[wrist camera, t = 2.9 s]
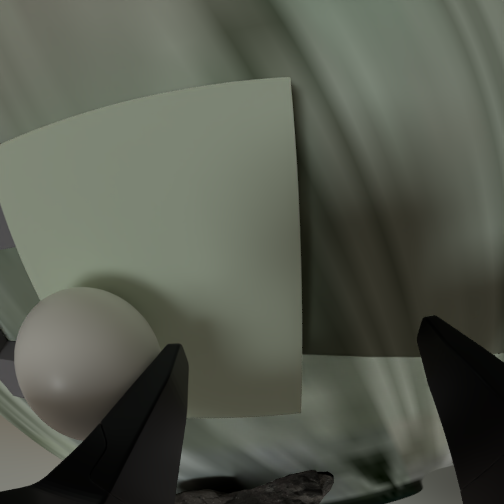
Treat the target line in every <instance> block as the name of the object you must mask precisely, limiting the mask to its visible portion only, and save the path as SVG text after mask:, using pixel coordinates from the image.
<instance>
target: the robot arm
mask: <svg viewBox="0 0 504 504" xmlns="http://www.w3.org/2000/svg"><path fill="white" fill-rule="evenodd" d="M417 343H418V347H419V351H420V354H421V358H422V362H423V366H424V370H425V374H426V378H427V382H428V385H429V388H430V391H431V394H432V396H433V399H434V402H435V405H436V408H437V411H438V414H439V417H440V420H441V423H442V426H443V430H444V433H445V436H446V439H447V443H448V446H449V450H450V453H451V457H452V460H453V464H454V467H455V471H456V475H457V479H458V483H459V487H460V490H461V496H462V501H463V504H504V362H502V361H501V360H500V359H498V358H497V357H495V356H494V355H493V354H491V353H490V352H488V351H487V350H486V349H484V348H483V347H481V346H480V345H478V344H477V343H476V342H474V341H473V340H471V339H470V338H468V337H467V336H465V335H464V334H463V333H461V332H460V331H458V330H457V329H455V328H454V327H452V326H451V325H449V324H448V323H446V322H445V321H443V320H442V319H440V318H439V317H437V316H435V315H433V316H427V317H424V318H423V319H422V322H421V325H420V329H419V332H418V335H417ZM188 378H189V363H188V360H187V357H186V354H185V351H184V349H183V346H182V345H181V344H180V343H173V344H167V345H166V346H165V347H164V348H163V350H162V351H161V352H160V353H159V354H158V355H157V357H156V358H155V359H154V360H153V361H152V362H151V364H150V365H149V366H148V367H147V368H146V369H145V371H144V372H143V373H142V374H141V375H140V376H139V377H138V379H137V380H136V381H135V382H134V383H133V384H132V386H131V387H130V388H129V389H128V390H127V391H126V393H125V394H124V395H123V396H122V397H121V398H120V400H119V401H118V402H117V403H116V404H115V405H114V407H113V408H112V409H111V410H110V411H109V412H108V414H107V415H106V416H105V417H104V418H103V419H102V421H101V423H99V424H98V425H97V426H96V427H95V429H94V430H93V431H92V432H91V433H90V434H89V435H88V436H87V437H86V439H85V440H84V441H83V442H82V443H81V444H80V445H79V446H78V447H77V448H76V449H75V450H74V451H73V452H72V453H71V454H70V455H69V456H67V457H66V458H65V459H64V460H63V461H62V462H61V463H60V464H59V465H58V466H57V467H56V468H54V469H53V470H52V471H51V472H50V473H49V474H48V475H47V476H46V477H44V478H43V479H42V480H40V481H39V482H37V483H35V484H32V485H30V486H26V487H22V488H17V489H12V490H7V491H2V492H0V504H175V496H176V488H177V480H178V473H179V466H180V459H181V452H182V445H183V438H184V431H185V425H186V418H187V407H188Z"/></svg>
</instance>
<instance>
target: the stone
mask: <svg viewBox="0 0 504 504" xmlns="http://www.w3.org/2000/svg"><path fill="white" fill-rule="evenodd" d="M333 483H334V478H333V475H332V474H331V473H330V472H328V471H327V472H316V471H315V470H309V471H304V472H300V473H295V474H289V475H287V476H285V477H282V478H278V479H275V480H274V481H273V482H268V483H267V484H265V485H261V486H258V487H256V488H253V489H246V490H241V491H237V492H232V493H230V494H227V493H224V492H219V491H215V490H210V489H204V490H199V491H197V490H194V491H185V492H181V493H178V494H176V496H175V504H319V503H320V501H321V500H322V499H323V497H324V496H325V495H326V494H327V493H328V492H329V491H330V490H331V487H332V485H333Z"/></svg>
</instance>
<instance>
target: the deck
mask: <svg viewBox="0 0 504 504" xmlns="http://www.w3.org/2000/svg"><path fill="white" fill-rule="evenodd" d="M12 247H16V248H17V250H18V253H19V255H20V258H21V260H22V262H23V265H24V267H25V269H26V271H27V274H28V276H29V278H30V280H31V282H32V284H33V286H34V289H35V291H36V293H37V295H38V297H39V299H40V301H41V300H43V299H44V298H46V297H47V296H49V295H51V294H53V293H55V292H58V291H60V290H64V289H68V288H73V287H90V288H97V289H101V290H105V291H107V292H110V293H112V294H114V295H117V296H118V297H120V298H122V299H124V300H125V301H127V302H128V303H129V304H131V305H132V306H133V307H134V308H135V309H136V310H137V311H138V312H139V313H140V314H141V315H142V316H143V317H144V318H145V319H146V321H147V322H148V323H149V325H150V327H151V328H152V330H153V332H154V334H155V336H156V338H157V340H158V343H159V346H160V349H161V351H162V350H163V348H164V347H165V346H166V345H167V344H173V343H180V344H181V345H182V346H183V349H184V351H185V354H186V357H187V360H188V363H189V378H188V407H187V418H237V417H259V416H274V415H286V414H296V413H301V394H302V280H301V242H300V216H299V194H298V175H297V158H296V143H295V129H294V116H293V103H292V92H291V81H290V77H283V78H268V79H256V80H246V81H236V82H228V83H220V84H213V85H206V86H199V87H193V88H187V89H181V90H176V91H171V92H165V93H161V94H156V95H151V96H146V97H142V98H138V99H133V100H129V101H125V102H121V103H117V104H114V105H110V106H106V107H103V108H99V109H96V110H92V111H89V112H86V113H82V114H79V115H76V116H73V117H70V118H67V119H64V120H61V121H58V122H55V123H52V124H49V125H47V126H44V127H41V128H38V129H36V130H33V131H31V132H28V133H26V134H23V135H21V136H18V137H16V138H13V139H11V140H9V141H6V142H4V143H2V144H0V249H6V248H12ZM15 344H16V342H14V341H7V340H6V338H5V337H4V335H3V333H2V332H1V330H0V380H1V381H2V382H3V384H4V385H5V386H6V387H7V388H8V390H9V391H10V392H11V393H12V394H13V396H17V397H21V398H24V396H23V393H22V391H21V389H20V387H19V383H18V380H17V376H16V372H15V365H14V350H15Z"/></svg>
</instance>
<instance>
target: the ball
mask: <svg viewBox="0 0 504 504" xmlns="http://www.w3.org/2000/svg"><path fill="white" fill-rule="evenodd" d="M160 352H161V349H160V346H159V343H158V340H157V338H156V336H155V334H154V332H153V330H152V328H151V327H150V325H149V323H148V322H147V321H146V319H145V318H144V317H143V316H142V315H141V314H140V313H139V312H138V311H137V310H136V309H135V308H134V307H133V306H132V305H131V304H129V303H128V302H127V301H125V300H124V299H122V298H120V297H118V296H117V295H114V294H112V293H110V292H107V291H105V290H101V289H97V288H90V287H73V288H68V289H64V290H60V291H58V292H55V293H53V294H51V295H49V296H47V297H46V298H44V299H43V300H41V301H40V302H39V303H38V304H37V305H36V306H35V307H34V308H33V309H32V310H31V311H30V312H29V314H28V315H27V316H26V318H25V319H24V321H23V323H22V325H21V327H20V329H19V332H18V336H17V339H16V344H15V350H14V365H15V372H16V376H17V380H18V383H19V387H20V389H21V391H22V393H23V396H24V398H25V399H26V401H27V402H28V404H29V406H30V407H31V409H32V410H33V411H34V412H35V413H36V414H37V415H38V417H39V418H40V419H41V420H42V421H43V422H45V423H46V424H47V425H48V426H50V427H51V428H53V429H54V430H56V431H57V432H59V433H61V434H63V435H66V436H68V437H71V438H74V439H77V440H82V441H84V440H85V439H86V437H87V436H88V435H89V434H90V433H91V432H92V431H93V430H94V429H95V427H96V426H97V425H98V424H99V423H101V421H102V419H103V418H104V417H105V416H106V415H107V414H108V412H109V411H110V410H111V409H112V408H113V407H114V405H115V404H116V403H117V402H118V401H119V400H120V398H121V397H122V396H123V395H124V394H125V393H126V391H127V390H128V389H129V388H130V387H131V386H132V384H133V383H134V382H135V381H136V380H137V379H138V377H139V376H140V375H141V374H142V373H143V372H144V371H145V369H146V368H147V367H148V366H149V365H150V364H151V362H152V361H153V360H154V359H155V358H156V357H157V355H158V354H159V353H160Z"/></svg>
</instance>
